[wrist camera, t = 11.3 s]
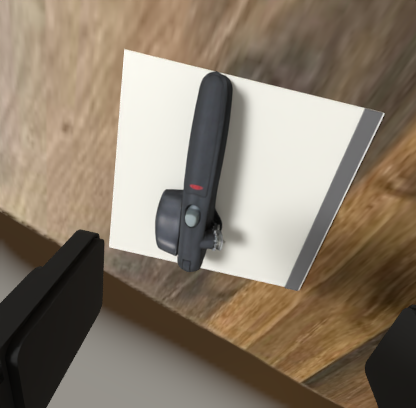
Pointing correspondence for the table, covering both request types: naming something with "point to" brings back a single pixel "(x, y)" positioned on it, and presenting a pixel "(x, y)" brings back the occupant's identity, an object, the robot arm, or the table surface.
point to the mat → (237, 167)
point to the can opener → (198, 180)
